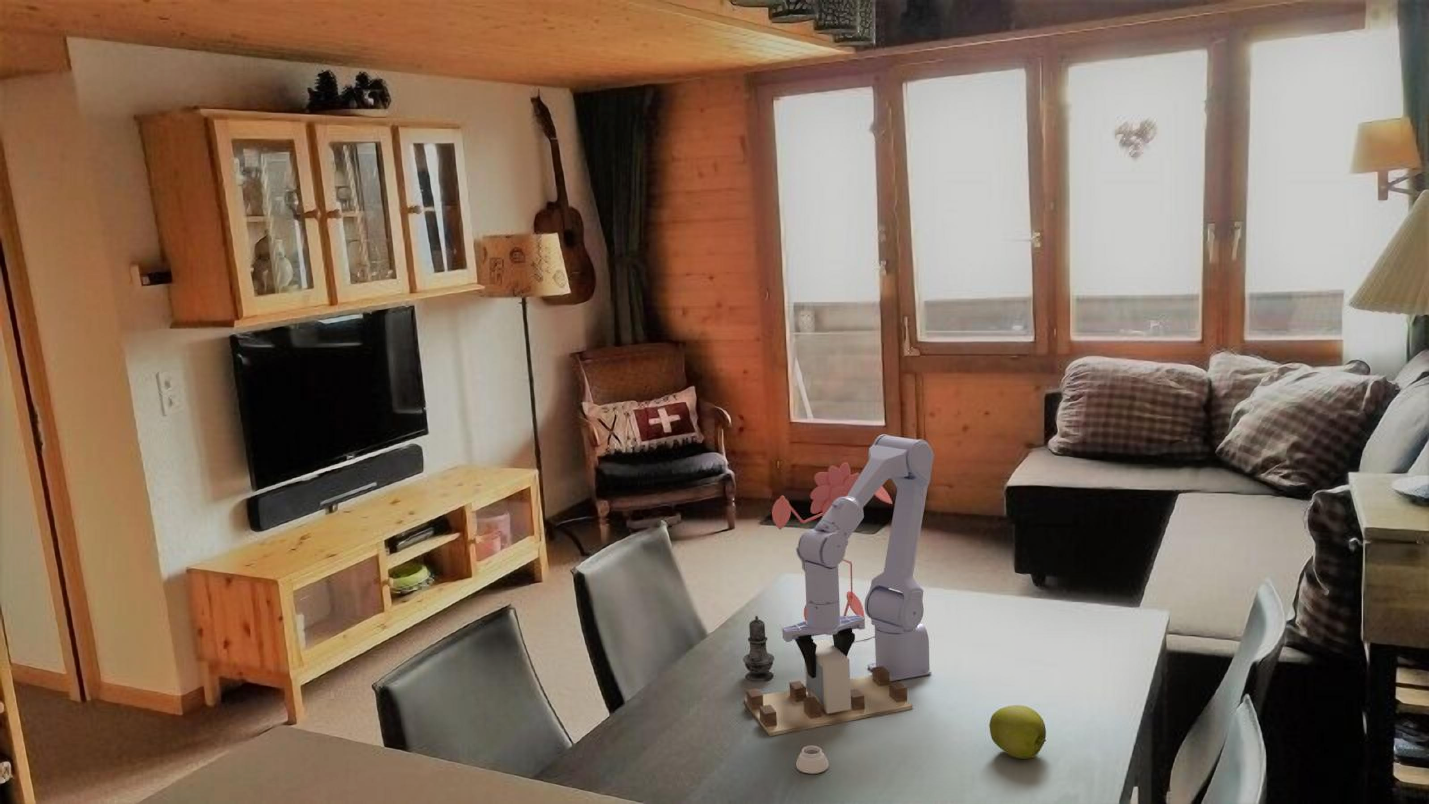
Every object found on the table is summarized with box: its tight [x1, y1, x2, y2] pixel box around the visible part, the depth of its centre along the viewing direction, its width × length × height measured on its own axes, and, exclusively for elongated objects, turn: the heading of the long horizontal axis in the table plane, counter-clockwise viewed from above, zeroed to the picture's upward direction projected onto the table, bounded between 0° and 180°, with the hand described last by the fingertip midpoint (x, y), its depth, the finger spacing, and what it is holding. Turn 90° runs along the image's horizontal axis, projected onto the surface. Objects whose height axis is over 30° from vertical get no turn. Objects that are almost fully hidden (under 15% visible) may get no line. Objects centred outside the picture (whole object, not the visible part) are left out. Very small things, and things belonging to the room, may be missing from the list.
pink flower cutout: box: [771, 461, 893, 643], centre depth 222 cm, size 15×26×35 cm, turn 113°
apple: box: [988, 704, 1047, 760], centre depth 170 cm, size 8×9×8 cm
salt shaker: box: [742, 615, 775, 683], centre depth 204 cm, size 6×6×12 cm
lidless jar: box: [795, 745, 830, 775], centre depth 171 cm, size 5×3×5 cm
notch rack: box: [743, 666, 913, 737], centre depth 192 cm, size 26×14×3 cm, turn 106°
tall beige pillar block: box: [803, 638, 851, 714], centre depth 191 cm, size 5×10×9 cm, turn 16°
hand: (825, 673), depth 191 cm, fingers closed on tall beige pillar block, 4 cm apart
